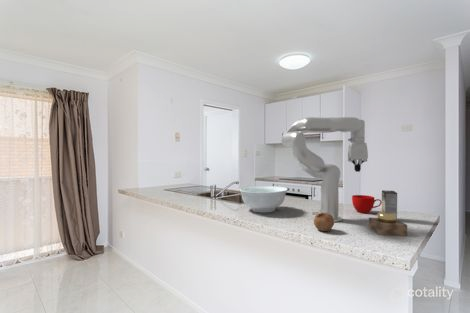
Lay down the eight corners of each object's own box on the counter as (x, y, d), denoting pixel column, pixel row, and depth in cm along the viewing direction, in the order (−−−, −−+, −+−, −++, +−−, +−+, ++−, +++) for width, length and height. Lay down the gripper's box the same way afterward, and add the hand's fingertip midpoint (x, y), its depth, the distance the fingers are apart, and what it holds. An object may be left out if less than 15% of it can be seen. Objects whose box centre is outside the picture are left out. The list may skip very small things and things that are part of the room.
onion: (321, 238, 121) (315, 221, 118) (313, 227, 130) (308, 211, 127) (339, 231, 121) (335, 214, 118) (330, 221, 130) (326, 205, 127)
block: (379, 234, 117) (379, 223, 117) (368, 227, 129) (368, 217, 129) (407, 235, 116) (407, 224, 116) (393, 228, 128) (393, 218, 128)
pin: (381, 232, 119) (381, 215, 119) (374, 227, 127) (375, 211, 127) (399, 233, 118) (399, 215, 118) (391, 228, 126) (391, 212, 126)
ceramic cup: (383, 215, 153) (383, 199, 153) (352, 213, 160) (352, 197, 160) (380, 211, 165) (380, 196, 165) (351, 209, 172) (351, 194, 172)
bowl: (229, 209, 171) (229, 188, 171) (262, 203, 192) (262, 184, 192) (264, 218, 147) (264, 193, 147) (297, 210, 168) (297, 188, 168)
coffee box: (381, 217, 150) (381, 190, 150) (393, 218, 148) (393, 190, 148) (384, 220, 142) (384, 192, 142) (397, 221, 140) (397, 192, 140)
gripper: (346, 140, 148) (346, 171, 148) (373, 140, 146) (373, 172, 146) (342, 141, 155) (342, 171, 155) (368, 140, 153) (368, 171, 154)
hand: (357, 171), depth 151 cm, fingers closed
